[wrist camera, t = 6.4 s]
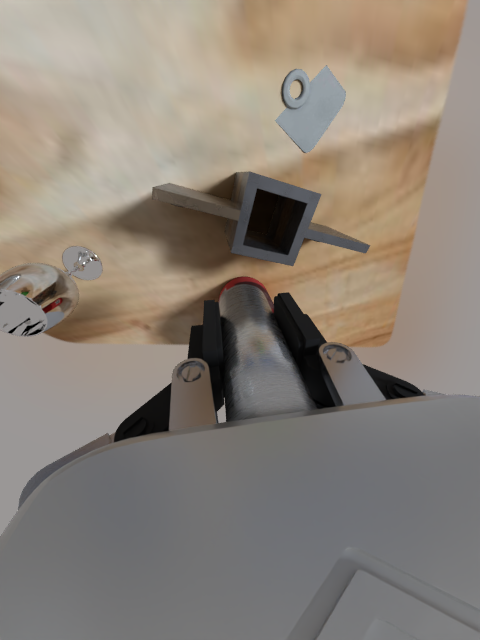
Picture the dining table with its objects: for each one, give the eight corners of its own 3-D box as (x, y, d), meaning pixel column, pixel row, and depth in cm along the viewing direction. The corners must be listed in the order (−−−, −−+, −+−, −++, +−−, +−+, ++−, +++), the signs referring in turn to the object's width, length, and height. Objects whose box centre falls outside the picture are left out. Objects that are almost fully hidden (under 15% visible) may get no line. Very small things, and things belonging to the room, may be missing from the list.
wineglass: (98, 292, 30) (44, 350, 20) (50, 268, 27) (-39, 321, 17) (115, 259, 27) (64, 307, 18) (65, 230, 25) (-27, 266, 15)
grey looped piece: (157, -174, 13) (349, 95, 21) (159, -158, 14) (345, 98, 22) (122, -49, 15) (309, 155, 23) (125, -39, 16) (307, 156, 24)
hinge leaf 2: (224, 231, 27) (231, 252, 20) (236, 172, 24) (249, 171, 17) (316, 253, 30) (351, 278, 23) (338, 204, 27) (387, 215, 20)
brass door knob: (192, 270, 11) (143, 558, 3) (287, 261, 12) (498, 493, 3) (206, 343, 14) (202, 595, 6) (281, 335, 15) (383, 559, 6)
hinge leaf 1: (288, 188, 25) (321, 194, 18) (271, 242, 29) (293, 266, 21) (171, 152, 22) (153, 141, 15) (167, 217, 26) (151, 235, 18)
